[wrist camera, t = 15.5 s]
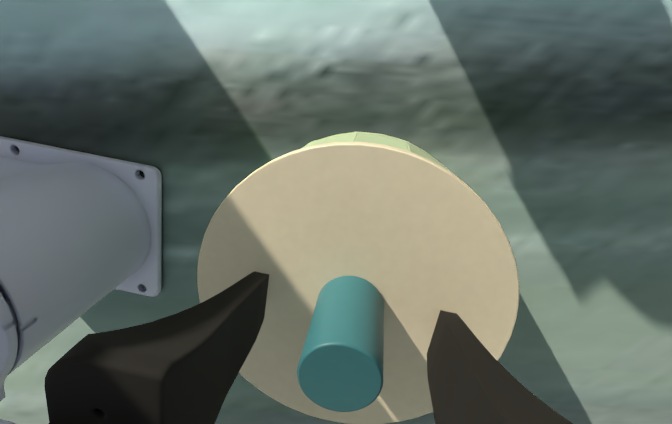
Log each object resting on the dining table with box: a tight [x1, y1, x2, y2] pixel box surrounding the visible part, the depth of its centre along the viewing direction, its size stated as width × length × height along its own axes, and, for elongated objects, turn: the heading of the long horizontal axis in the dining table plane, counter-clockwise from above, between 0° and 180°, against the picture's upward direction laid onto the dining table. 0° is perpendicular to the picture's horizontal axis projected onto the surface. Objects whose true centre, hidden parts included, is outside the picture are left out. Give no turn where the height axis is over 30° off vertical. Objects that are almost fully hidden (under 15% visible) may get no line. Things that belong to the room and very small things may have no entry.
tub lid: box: [197, 142, 519, 424], centre depth 14 cm, size 13×13×5 cm
